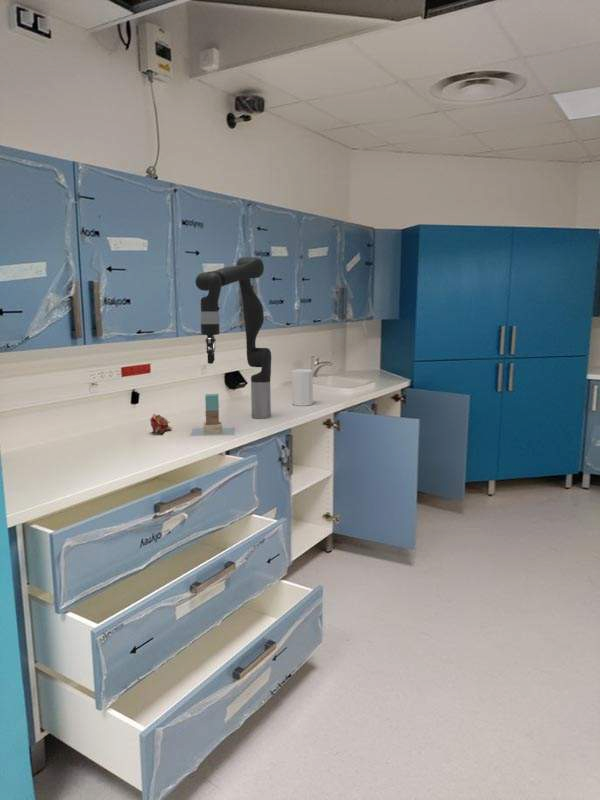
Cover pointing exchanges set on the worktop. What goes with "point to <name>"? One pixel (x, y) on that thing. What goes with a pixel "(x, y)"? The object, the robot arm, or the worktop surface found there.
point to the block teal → (212, 402)
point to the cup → (302, 387)
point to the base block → (212, 429)
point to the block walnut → (212, 417)
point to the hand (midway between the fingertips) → (211, 362)
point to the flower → (159, 424)
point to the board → (201, 433)
